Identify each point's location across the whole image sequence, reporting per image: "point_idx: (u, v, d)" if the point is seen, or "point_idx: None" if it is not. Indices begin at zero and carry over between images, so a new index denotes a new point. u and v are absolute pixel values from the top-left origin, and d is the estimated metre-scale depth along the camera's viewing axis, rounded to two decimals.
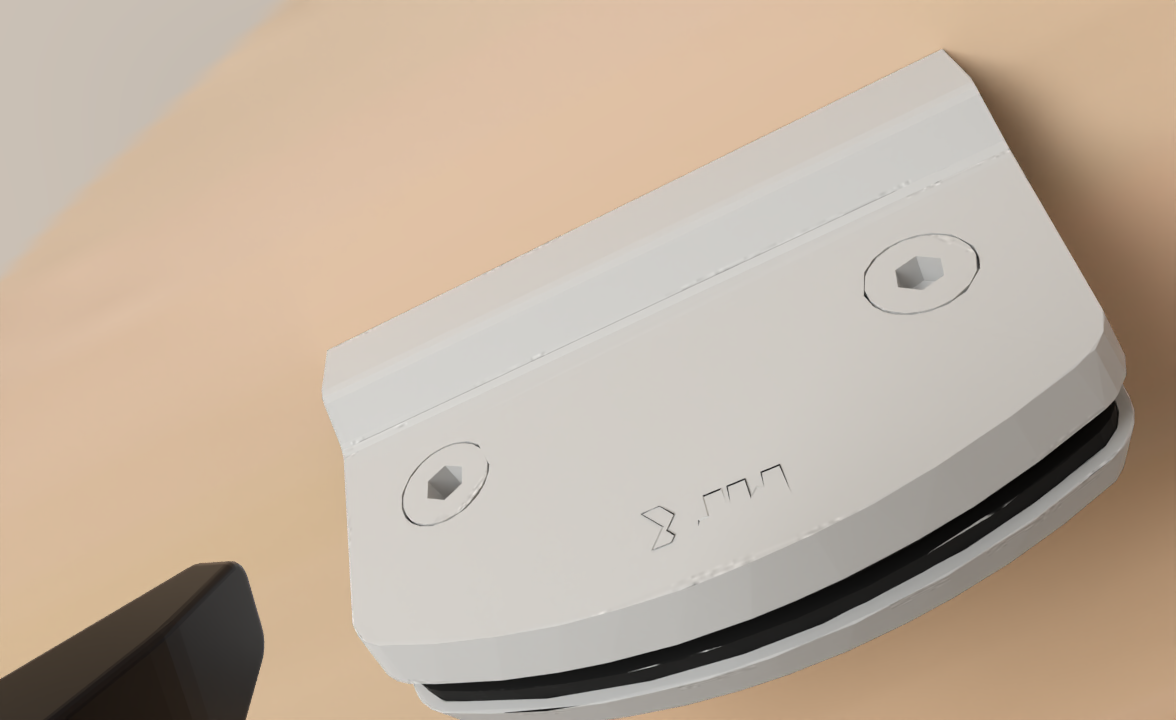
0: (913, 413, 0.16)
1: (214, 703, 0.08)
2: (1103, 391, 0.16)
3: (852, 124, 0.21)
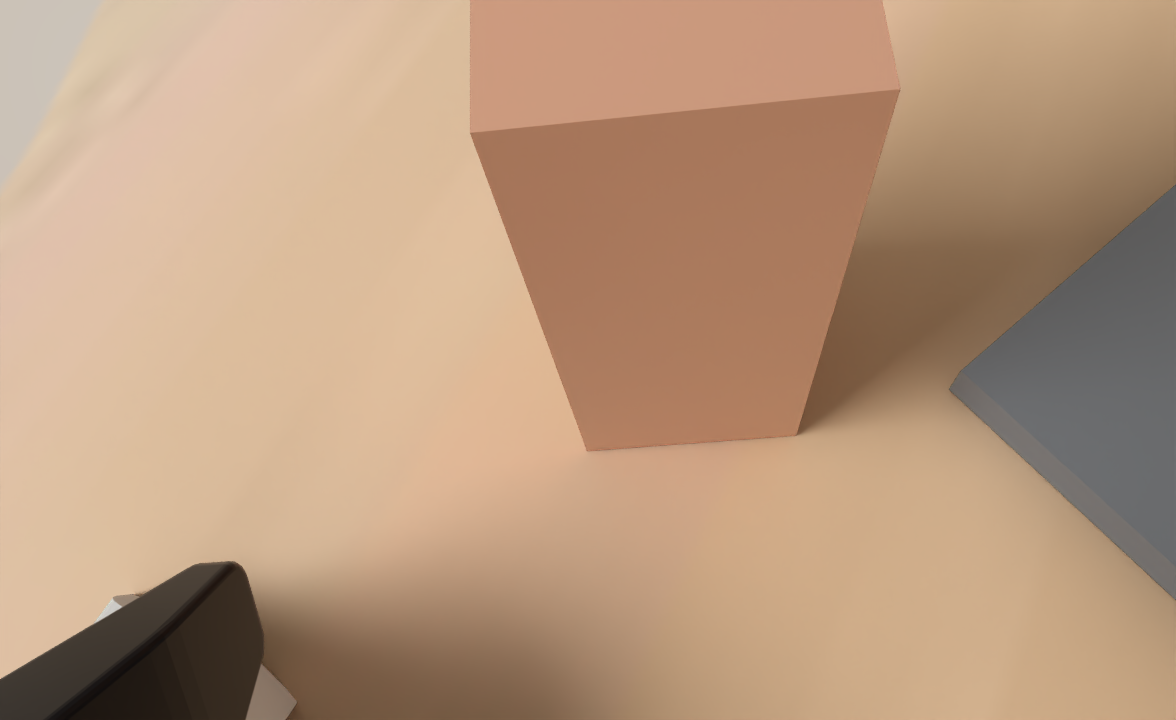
0: None
1: (214, 703, 0.08)
2: None
3: None
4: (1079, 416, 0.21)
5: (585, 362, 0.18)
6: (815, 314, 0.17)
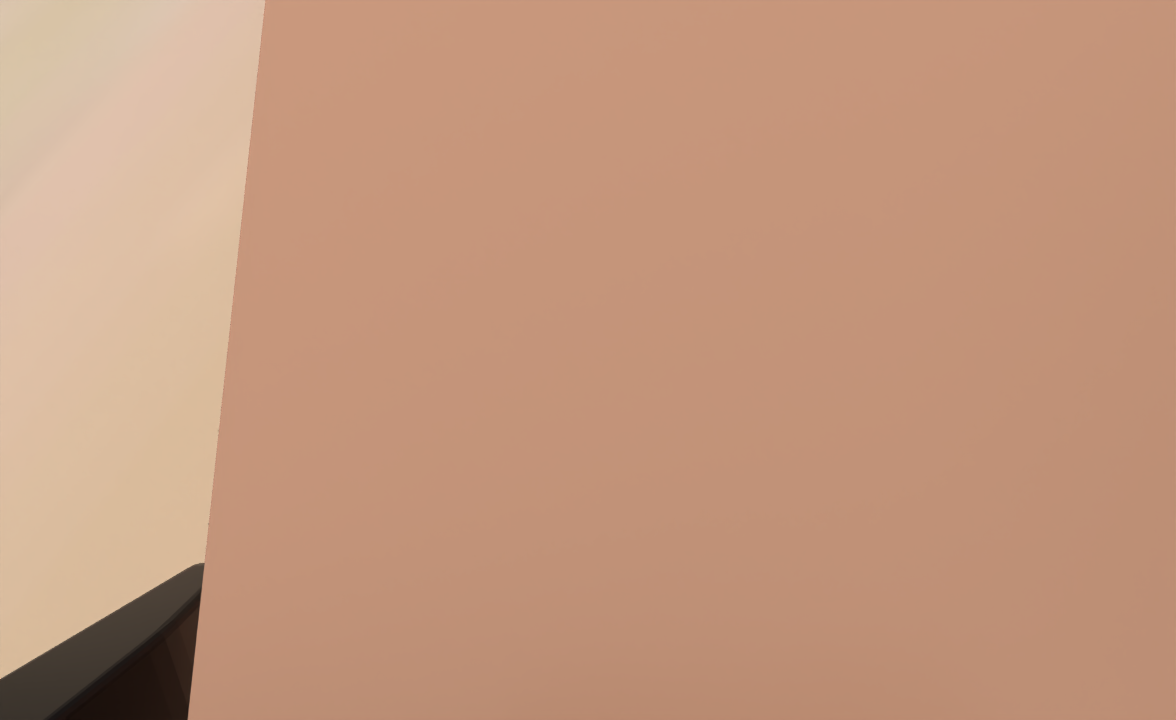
0: None
1: None
2: None
3: None
4: None
5: None
6: None
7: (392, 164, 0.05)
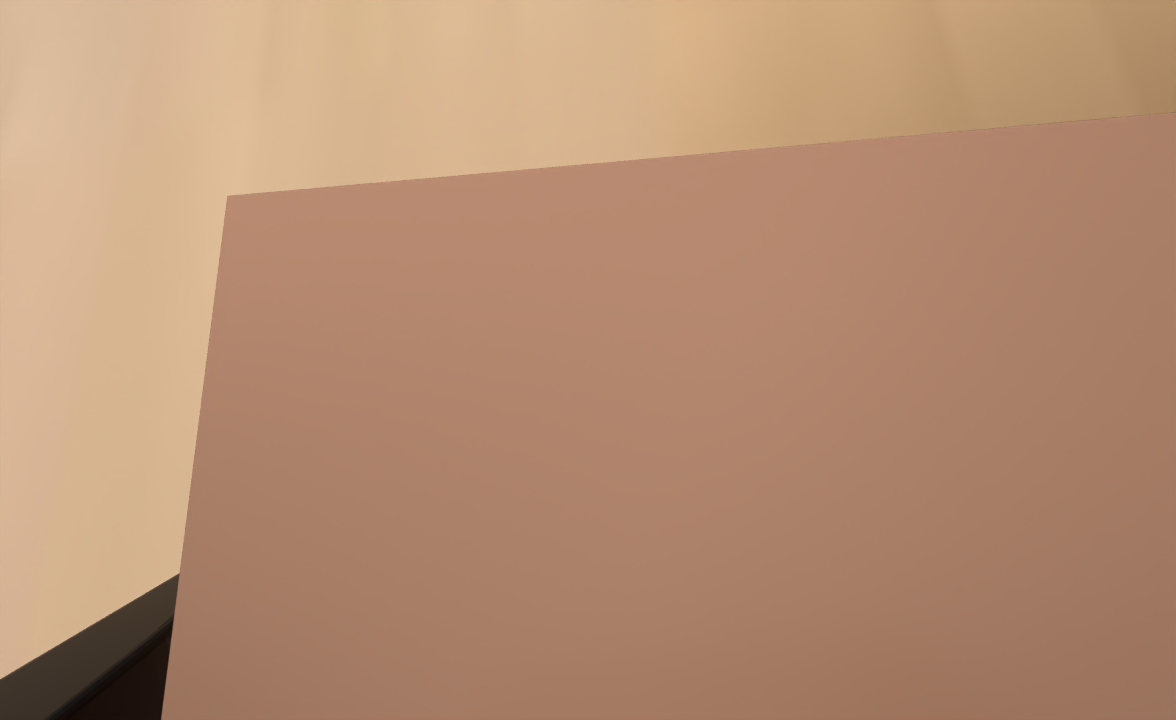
0: None
1: None
2: None
3: None
4: None
5: None
6: None
7: (371, 498, 0.04)
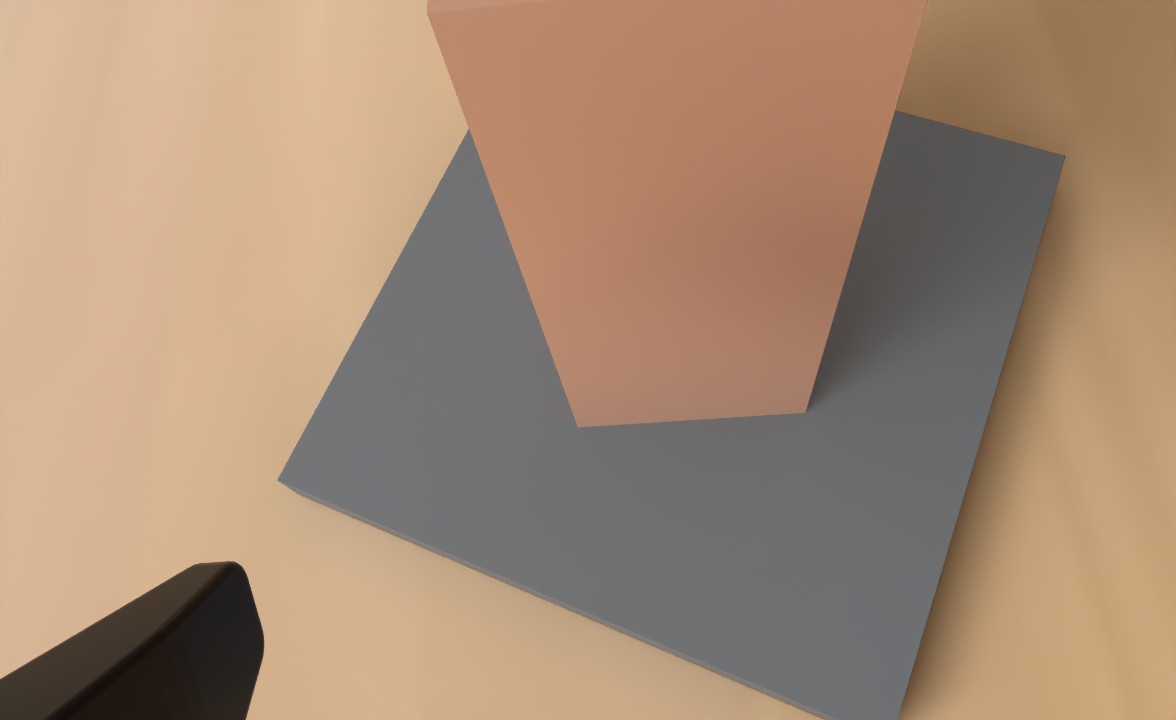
0: None
1: (214, 703, 0.08)
2: None
3: None
4: (390, 475, 0.22)
5: (573, 320, 0.16)
6: (830, 263, 0.15)
7: None
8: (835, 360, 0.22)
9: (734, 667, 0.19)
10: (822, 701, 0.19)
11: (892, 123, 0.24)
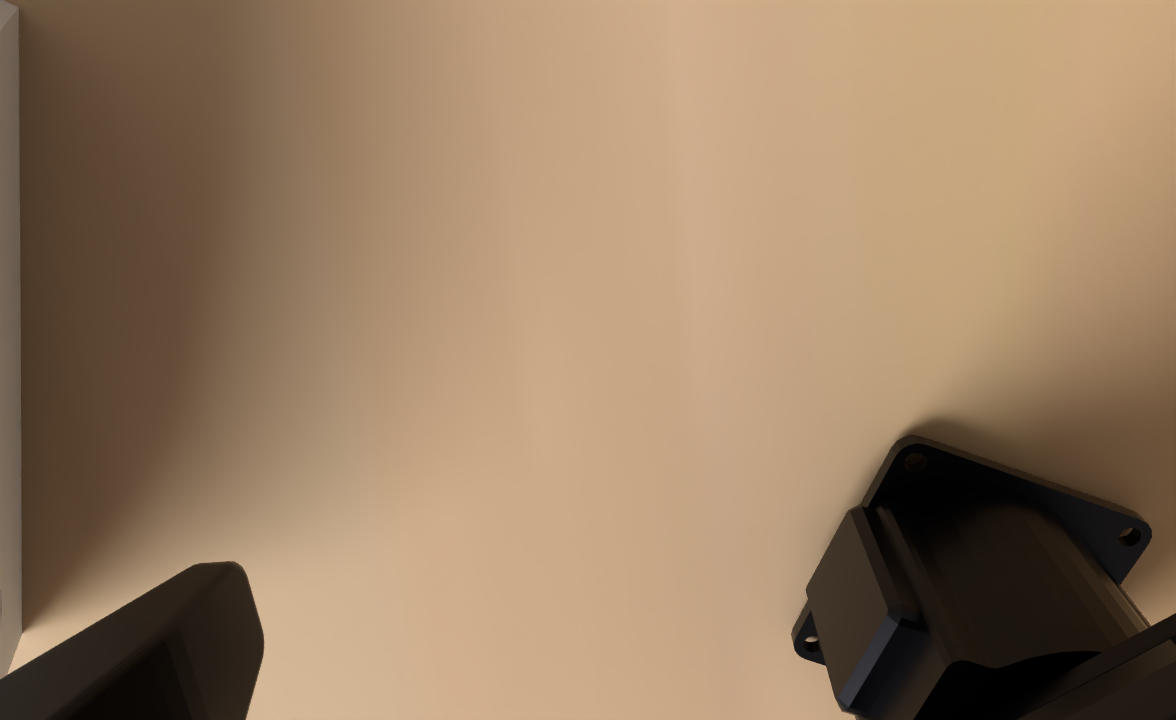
0: None
1: (214, 703, 0.08)
2: None
3: None
4: None
5: None
6: None
7: None
8: None
9: None
10: None
11: None
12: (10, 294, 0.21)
